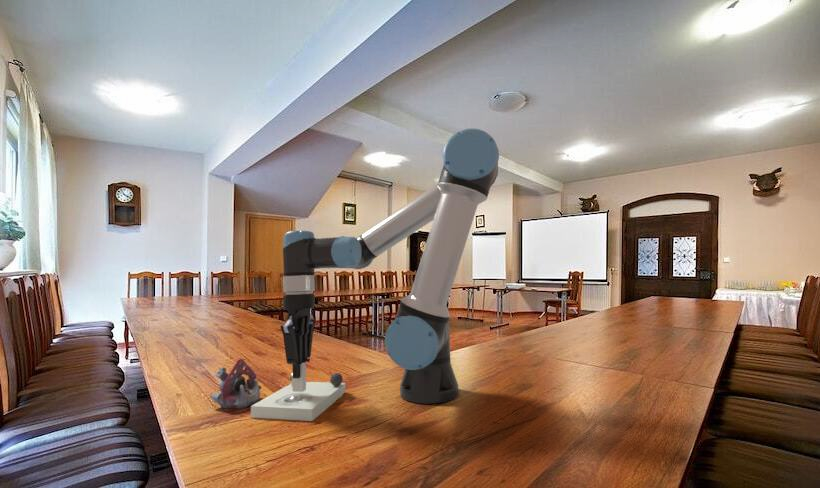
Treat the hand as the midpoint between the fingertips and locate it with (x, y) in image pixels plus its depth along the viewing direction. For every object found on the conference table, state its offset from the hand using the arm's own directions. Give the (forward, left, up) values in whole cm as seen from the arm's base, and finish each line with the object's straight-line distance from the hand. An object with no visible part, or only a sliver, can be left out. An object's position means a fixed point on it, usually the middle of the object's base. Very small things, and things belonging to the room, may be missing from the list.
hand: (299, 390), depth 87 cm
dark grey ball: (-6, -9, 0) cm, 10 cm away
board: (0, -2, -4) cm, 4 cm away
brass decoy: (+6, -9, 0) cm, 10 cm away
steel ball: (0, +2, -2) cm, 3 cm away
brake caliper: (+17, 0, -4) cm, 18 cm away
